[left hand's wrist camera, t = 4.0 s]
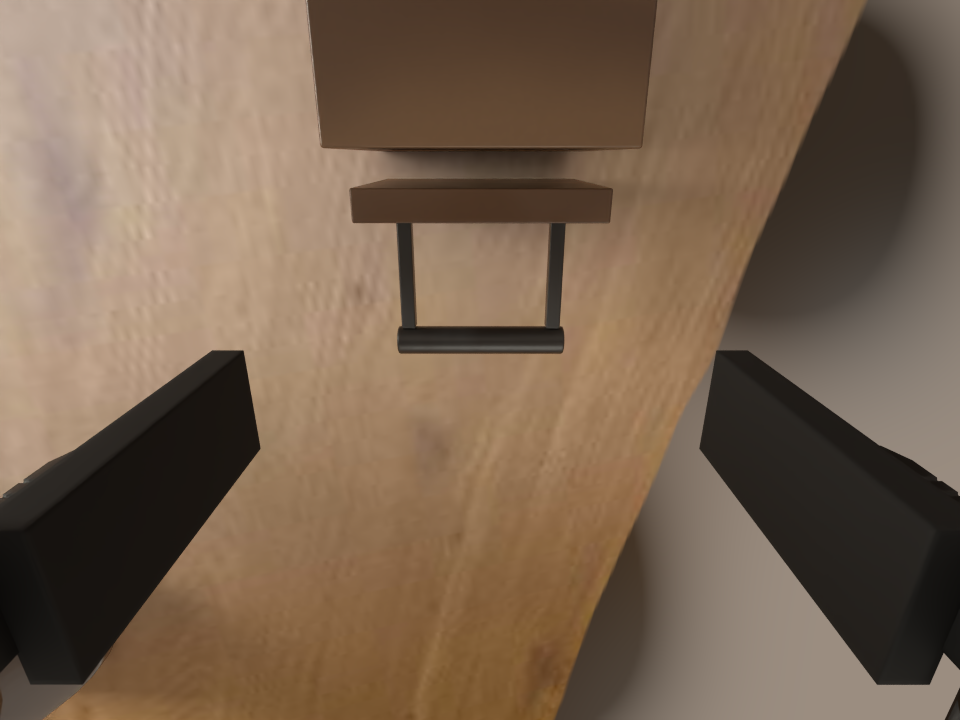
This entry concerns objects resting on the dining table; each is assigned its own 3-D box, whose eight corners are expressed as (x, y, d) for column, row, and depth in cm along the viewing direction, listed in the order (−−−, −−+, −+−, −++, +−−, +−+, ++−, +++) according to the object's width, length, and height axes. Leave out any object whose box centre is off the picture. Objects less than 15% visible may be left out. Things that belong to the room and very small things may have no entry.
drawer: (565, 318, 29) (596, 376, 21) (395, 318, 29) (365, 376, 21) (608, -369, 19) (693, -713, 12) (354, -369, 19) (271, -714, 12)
